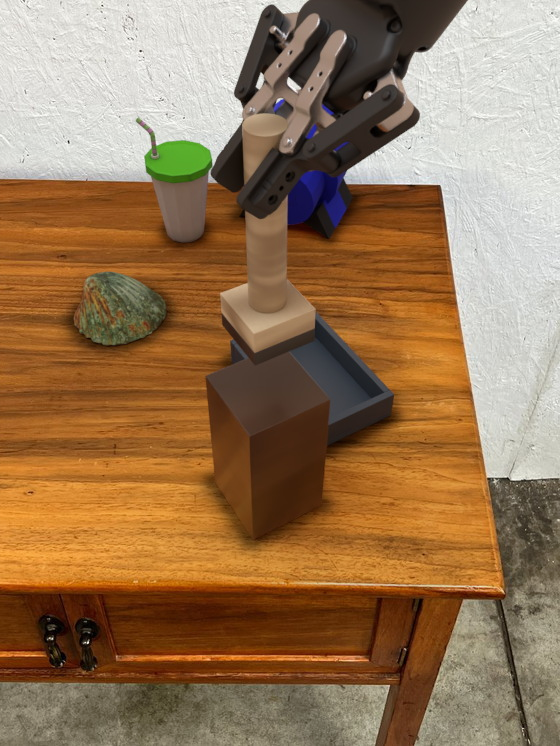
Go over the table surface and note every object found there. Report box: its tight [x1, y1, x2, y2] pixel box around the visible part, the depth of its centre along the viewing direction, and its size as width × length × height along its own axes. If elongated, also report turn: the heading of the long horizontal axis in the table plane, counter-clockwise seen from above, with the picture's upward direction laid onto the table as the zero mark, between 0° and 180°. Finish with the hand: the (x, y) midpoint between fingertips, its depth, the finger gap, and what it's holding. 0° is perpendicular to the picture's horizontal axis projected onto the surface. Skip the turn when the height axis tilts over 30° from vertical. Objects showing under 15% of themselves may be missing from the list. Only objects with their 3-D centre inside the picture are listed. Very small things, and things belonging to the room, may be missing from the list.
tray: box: [229, 311, 395, 447], centre depth 77 cm, size 14×10×3 cm
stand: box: [205, 352, 330, 541], centre depth 64 cm, size 7×7×14 cm
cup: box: [135, 116, 214, 244], centre depth 91 cm, size 8×8×15 cm
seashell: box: [73, 271, 168, 347], centre depth 84 cm, size 10×4×10 cm
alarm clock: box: [239, 87, 354, 240], centre depth 94 cm, size 12×12×15 cm
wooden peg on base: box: [219, 113, 317, 366], centre depth 49 cm, size 5×5×16 cm
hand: (236, 196), depth 46 cm, fingers closed on wooden peg on base, 2 cm apart
